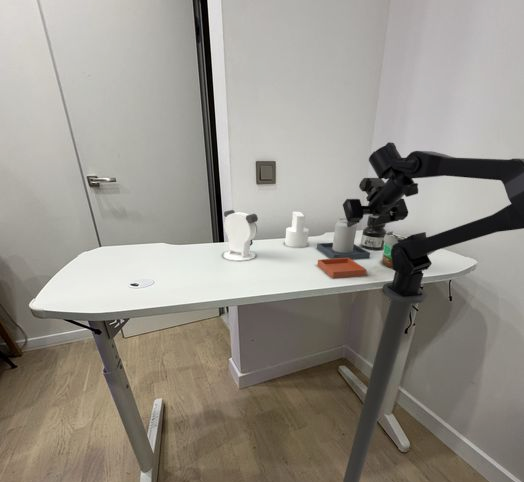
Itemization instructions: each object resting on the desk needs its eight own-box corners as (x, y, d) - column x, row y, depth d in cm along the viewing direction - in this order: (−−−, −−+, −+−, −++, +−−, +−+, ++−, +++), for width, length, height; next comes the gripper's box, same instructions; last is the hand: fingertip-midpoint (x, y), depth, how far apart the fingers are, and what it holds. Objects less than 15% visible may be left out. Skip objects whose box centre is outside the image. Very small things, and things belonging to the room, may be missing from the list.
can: (328, 251, 108) (332, 219, 103) (337, 247, 113) (342, 216, 108) (346, 256, 104) (352, 222, 98) (355, 251, 109) (361, 219, 104)
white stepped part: (283, 241, 121) (285, 211, 116) (304, 240, 122) (307, 211, 117) (287, 247, 114) (289, 216, 108) (309, 247, 114) (312, 216, 109)
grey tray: (369, 258, 105) (370, 252, 104) (333, 260, 101) (334, 255, 100) (349, 246, 117) (350, 241, 116) (316, 248, 113) (317, 243, 113)
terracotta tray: (365, 275, 90) (366, 269, 89) (332, 278, 87) (333, 272, 86) (347, 263, 99) (348, 257, 98) (317, 265, 97) (317, 259, 96)
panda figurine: (263, 254, 105) (264, 212, 98) (244, 263, 97) (244, 217, 90) (236, 248, 111) (236, 208, 104) (217, 256, 102) (214, 212, 95)
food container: (370, 259, 103) (376, 231, 98) (385, 258, 105) (391, 230, 100) (394, 272, 93) (402, 241, 88) (410, 270, 94) (418, 240, 90)
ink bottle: (355, 246, 117) (360, 216, 111) (364, 242, 123) (370, 213, 117) (378, 252, 111) (385, 220, 106) (387, 247, 117) (394, 217, 111)
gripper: (412, 168, 80) (380, 203, 95) (351, 167, 76) (328, 203, 91) (424, 202, 77) (389, 233, 92) (362, 203, 73) (335, 235, 88)
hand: (361, 225), depth 91 cm, fingers open, 9 cm apart
